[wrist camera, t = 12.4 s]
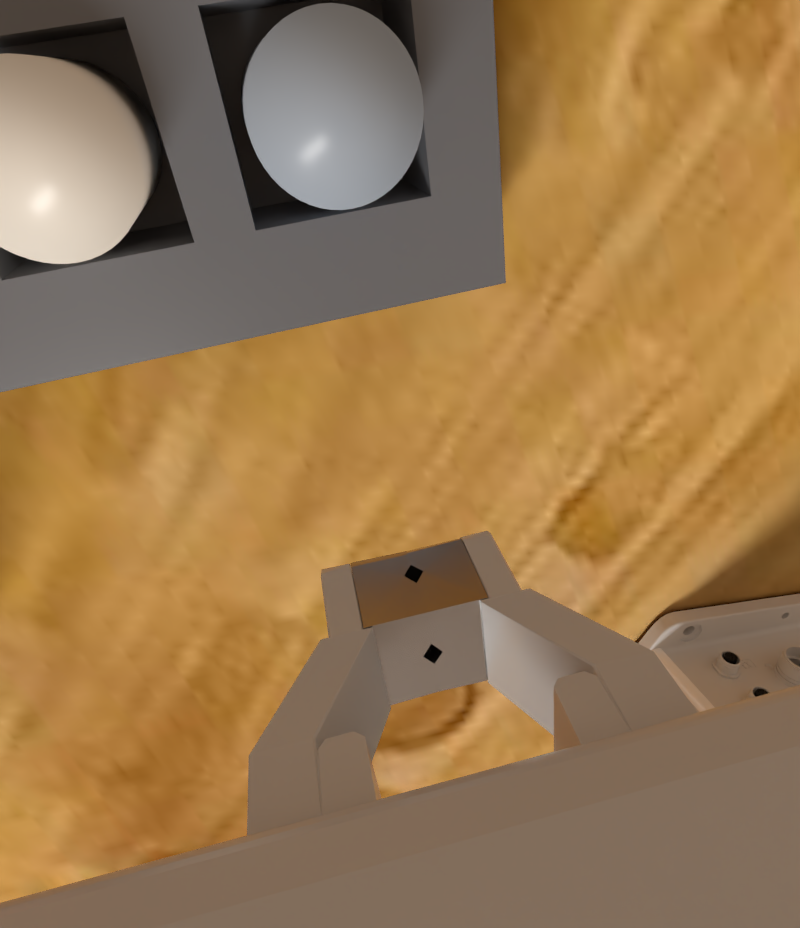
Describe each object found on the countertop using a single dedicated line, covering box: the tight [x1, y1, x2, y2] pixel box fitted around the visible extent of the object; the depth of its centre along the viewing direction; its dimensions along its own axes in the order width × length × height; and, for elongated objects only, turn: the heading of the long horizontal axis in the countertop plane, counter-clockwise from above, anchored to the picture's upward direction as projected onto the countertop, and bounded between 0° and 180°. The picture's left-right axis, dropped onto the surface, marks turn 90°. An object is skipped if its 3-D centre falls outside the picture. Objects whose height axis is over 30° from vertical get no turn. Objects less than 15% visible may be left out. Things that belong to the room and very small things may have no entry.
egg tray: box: [0, 0, 506, 392], centre depth 20 cm, size 27×13×4 cm, turn 98°
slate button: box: [241, 3, 424, 210], centre depth 20 cm, size 5×5×6 cm
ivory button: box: [0, 53, 162, 264], centre depth 19 cm, size 5×5×6 cm
